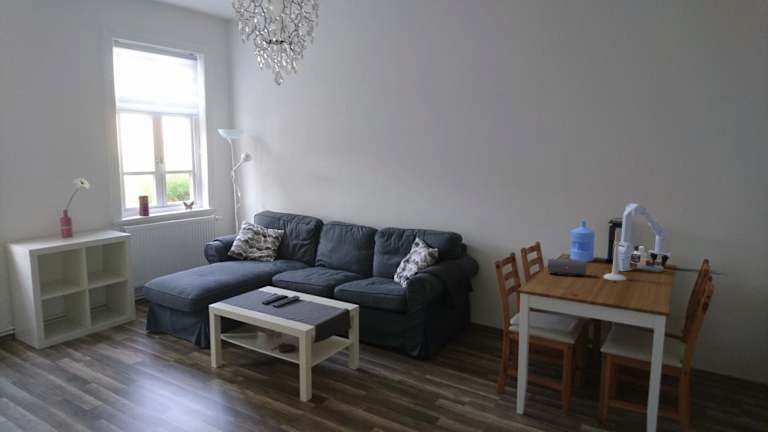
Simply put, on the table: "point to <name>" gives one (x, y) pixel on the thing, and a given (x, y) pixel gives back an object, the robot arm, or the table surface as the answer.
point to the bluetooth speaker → (567, 266)
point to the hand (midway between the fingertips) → (658, 265)
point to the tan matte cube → (658, 263)
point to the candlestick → (615, 263)
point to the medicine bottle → (638, 254)
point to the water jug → (582, 243)
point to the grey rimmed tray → (649, 266)
